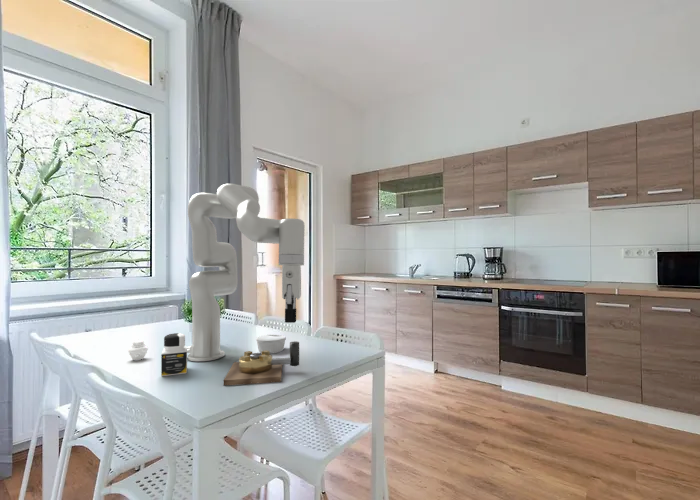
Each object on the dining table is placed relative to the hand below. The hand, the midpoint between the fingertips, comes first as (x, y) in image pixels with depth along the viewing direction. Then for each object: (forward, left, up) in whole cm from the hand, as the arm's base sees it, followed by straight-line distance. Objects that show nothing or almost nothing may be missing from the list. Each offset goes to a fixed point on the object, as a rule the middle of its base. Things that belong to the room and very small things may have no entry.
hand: (290, 321), depth 106 cm
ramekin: (-8, +36, -17) cm, 40 cm away
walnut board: (-11, +8, -17) cm, 22 cm away
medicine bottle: (-37, +15, -17) cm, 43 cm away
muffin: (-55, +33, -17) cm, 66 cm away
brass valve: (-7, +7, -15) cm, 18 cm away
